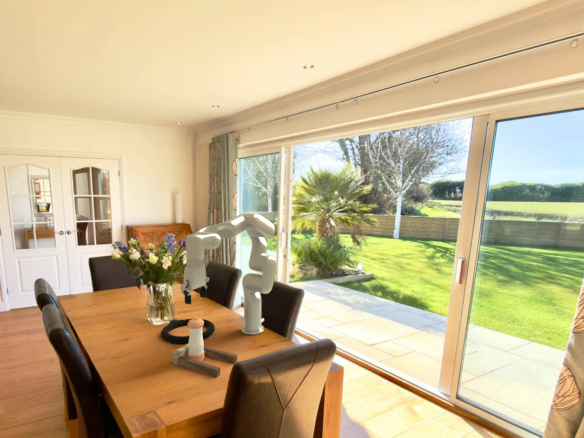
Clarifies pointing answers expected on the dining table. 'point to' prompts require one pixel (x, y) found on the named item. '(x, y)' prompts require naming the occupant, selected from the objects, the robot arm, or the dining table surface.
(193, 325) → the pepper shaker
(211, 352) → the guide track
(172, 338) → the cable lock
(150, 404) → the dining table surface
